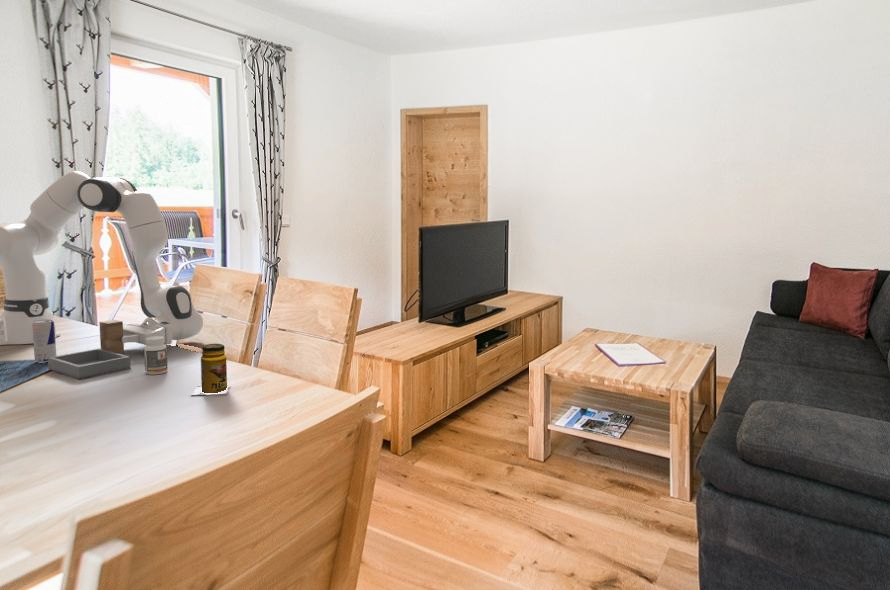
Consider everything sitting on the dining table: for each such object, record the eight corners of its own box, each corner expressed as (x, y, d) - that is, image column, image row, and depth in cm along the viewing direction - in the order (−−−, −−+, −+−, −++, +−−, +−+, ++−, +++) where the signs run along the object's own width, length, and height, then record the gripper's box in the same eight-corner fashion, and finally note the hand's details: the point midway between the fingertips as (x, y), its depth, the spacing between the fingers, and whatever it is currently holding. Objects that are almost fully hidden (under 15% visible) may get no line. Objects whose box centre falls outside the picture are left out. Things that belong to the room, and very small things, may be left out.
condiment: (226, 395, 148) (225, 348, 147) (190, 396, 147) (188, 349, 145) (230, 386, 155) (229, 341, 154) (195, 387, 154) (194, 342, 152)
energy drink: (61, 359, 176) (58, 319, 174) (47, 364, 171) (44, 323, 169) (44, 358, 177) (41, 318, 175) (30, 363, 171) (27, 322, 170)
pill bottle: (172, 371, 167) (171, 337, 166) (154, 376, 162) (153, 340, 161) (158, 368, 170) (156, 334, 168) (140, 373, 165) (138, 338, 163)
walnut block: (101, 357, 180) (99, 321, 178) (115, 354, 184) (114, 319, 182) (109, 359, 177) (107, 323, 176) (124, 356, 181) (122, 321, 180)
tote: (48, 369, 165) (47, 357, 165) (99, 359, 177) (98, 348, 177) (79, 379, 157) (78, 367, 157) (130, 368, 169) (130, 356, 168)
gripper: (135, 317, 196) (92, 323, 185) (174, 325, 186) (131, 332, 174) (136, 335, 197) (93, 343, 186) (174, 344, 187) (132, 353, 175)
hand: (112, 337), depth 180 cm, fingers open, 8 cm apart
